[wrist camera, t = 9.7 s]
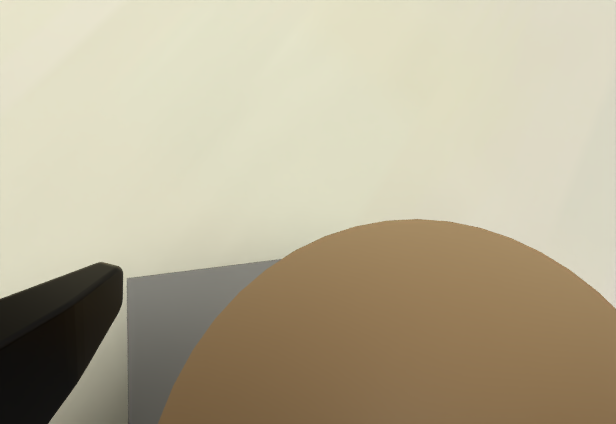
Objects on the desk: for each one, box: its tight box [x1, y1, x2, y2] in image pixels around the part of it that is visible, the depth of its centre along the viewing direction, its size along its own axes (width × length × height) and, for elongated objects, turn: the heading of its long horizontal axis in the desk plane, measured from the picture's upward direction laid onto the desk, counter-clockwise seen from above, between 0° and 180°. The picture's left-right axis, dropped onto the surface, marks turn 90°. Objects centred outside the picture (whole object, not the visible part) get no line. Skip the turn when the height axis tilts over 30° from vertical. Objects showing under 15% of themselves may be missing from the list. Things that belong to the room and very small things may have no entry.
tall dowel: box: [158, 219, 616, 424], centre depth 9 cm, size 4×4×14 cm
